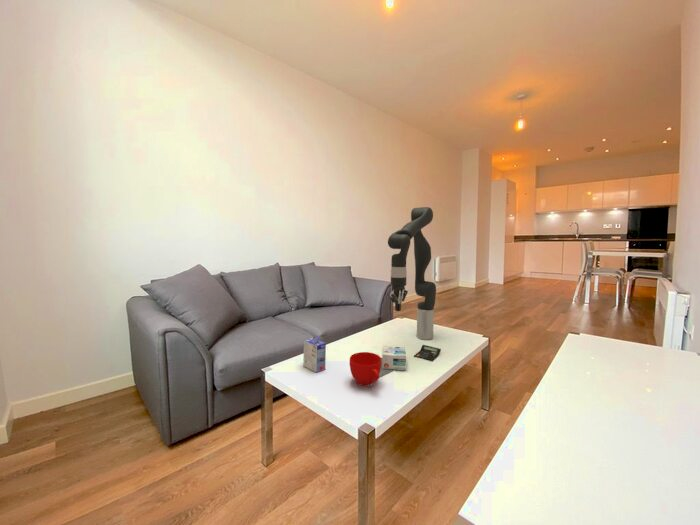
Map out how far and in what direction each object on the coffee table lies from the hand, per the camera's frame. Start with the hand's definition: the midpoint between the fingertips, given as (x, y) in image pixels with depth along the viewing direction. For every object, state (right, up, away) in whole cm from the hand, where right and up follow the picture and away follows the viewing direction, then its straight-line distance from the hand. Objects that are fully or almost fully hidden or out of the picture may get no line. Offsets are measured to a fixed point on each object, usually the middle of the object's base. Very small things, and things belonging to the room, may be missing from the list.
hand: (398, 310), depth 144 cm
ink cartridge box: (-40, -24, -11) cm, 48 cm away
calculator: (+15, -23, +4) cm, 28 cm away
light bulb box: (-3, -20, -3) cm, 20 cm away
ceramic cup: (-17, -26, -25) cm, 40 cm away
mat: (-12, -24, -8) cm, 28 cm away
